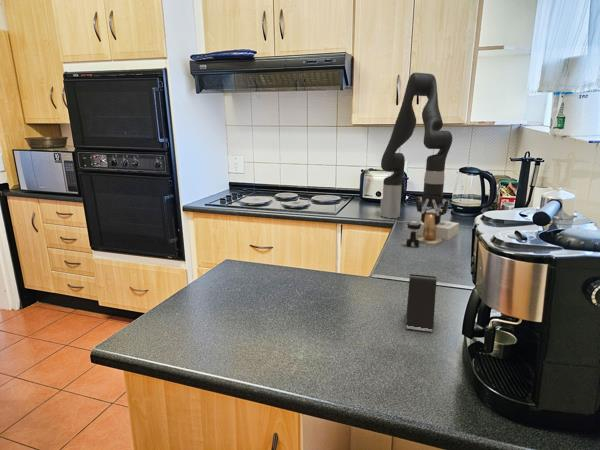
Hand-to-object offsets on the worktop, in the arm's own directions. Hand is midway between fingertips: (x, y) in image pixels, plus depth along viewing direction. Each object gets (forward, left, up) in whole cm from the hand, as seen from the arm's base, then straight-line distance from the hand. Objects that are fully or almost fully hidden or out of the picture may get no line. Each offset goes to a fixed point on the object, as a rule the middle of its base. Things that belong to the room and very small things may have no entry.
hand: (430, 223), depth 159 cm
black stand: (-3, -11, -8) cm, 14 cm away
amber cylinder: (0, 0, -6) cm, 6 cm away
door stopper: (+25, -69, -8) cm, 74 cm away
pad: (0, 0, -8) cm, 8 cm away
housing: (-1, +13, -8) cm, 15 cm away
